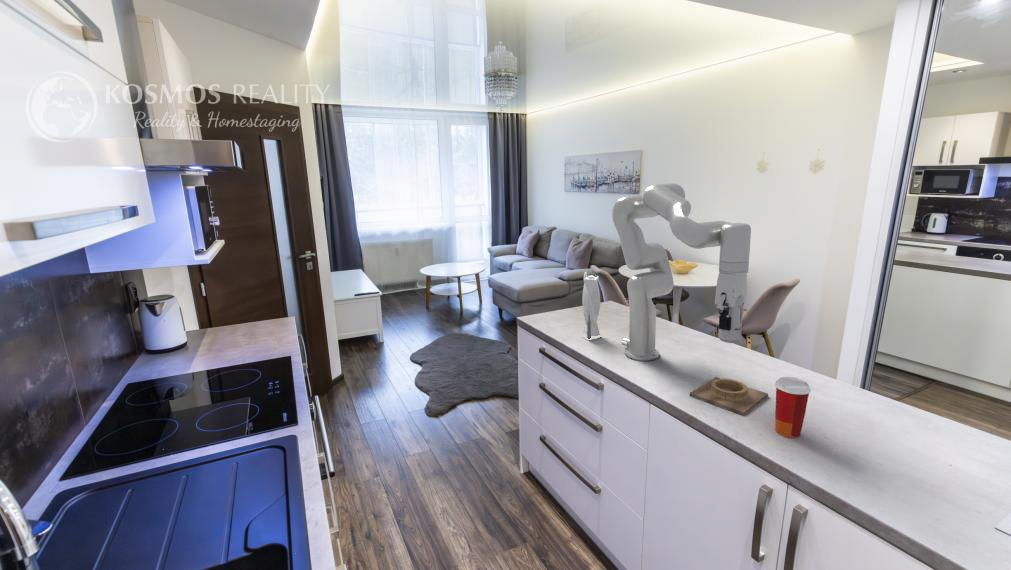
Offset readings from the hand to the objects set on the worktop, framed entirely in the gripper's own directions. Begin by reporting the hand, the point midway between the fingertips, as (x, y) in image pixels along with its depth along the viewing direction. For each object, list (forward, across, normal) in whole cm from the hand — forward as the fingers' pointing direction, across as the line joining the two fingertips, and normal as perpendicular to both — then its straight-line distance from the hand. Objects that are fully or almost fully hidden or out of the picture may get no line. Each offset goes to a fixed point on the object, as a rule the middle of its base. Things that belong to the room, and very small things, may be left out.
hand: (730, 326), depth 130 cm
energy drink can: (+5, 0, 0) cm, 5 cm away
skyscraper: (+21, -11, -63) cm, 67 cm away
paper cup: (+23, +8, +20) cm, 31 cm away
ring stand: (+22, 0, +1) cm, 22 cm away
